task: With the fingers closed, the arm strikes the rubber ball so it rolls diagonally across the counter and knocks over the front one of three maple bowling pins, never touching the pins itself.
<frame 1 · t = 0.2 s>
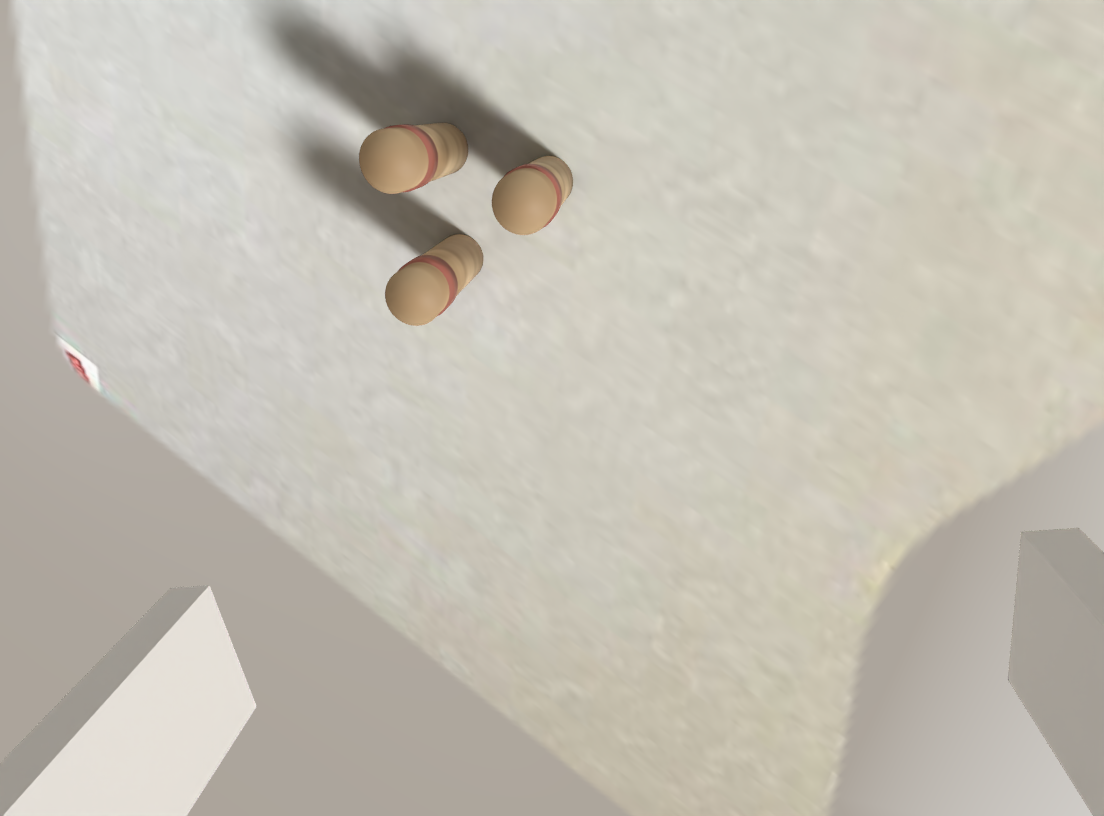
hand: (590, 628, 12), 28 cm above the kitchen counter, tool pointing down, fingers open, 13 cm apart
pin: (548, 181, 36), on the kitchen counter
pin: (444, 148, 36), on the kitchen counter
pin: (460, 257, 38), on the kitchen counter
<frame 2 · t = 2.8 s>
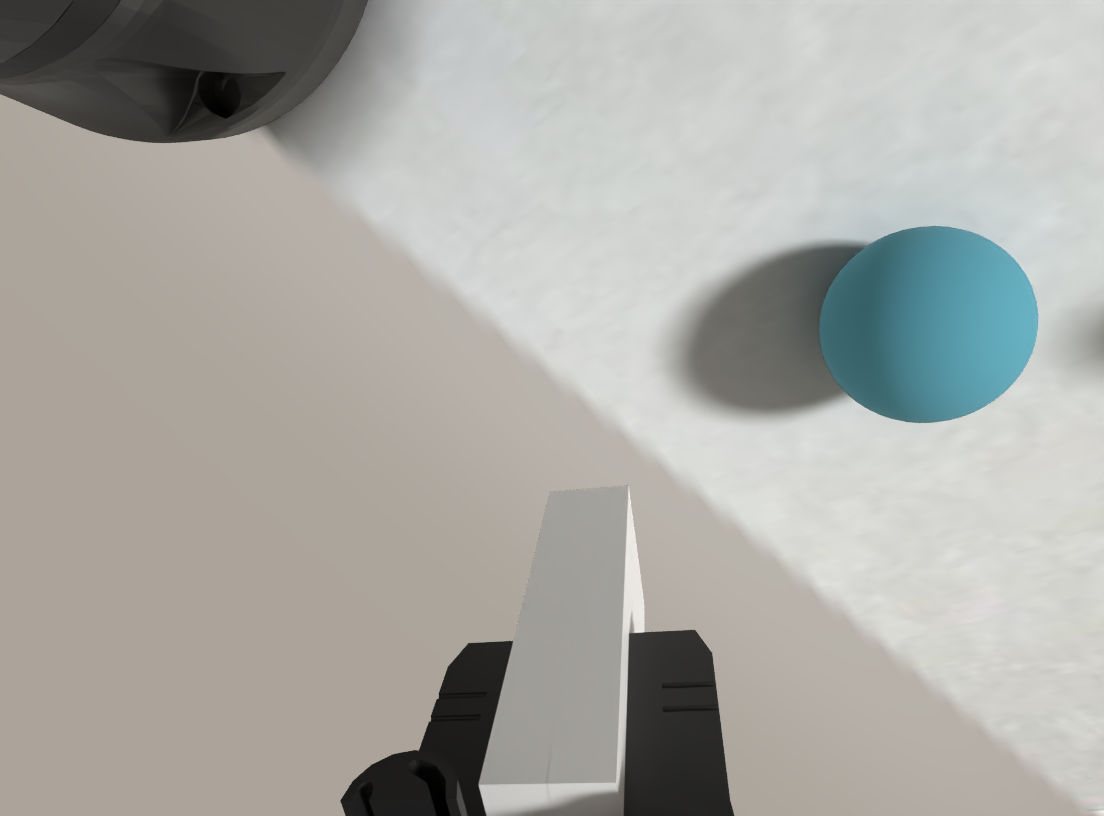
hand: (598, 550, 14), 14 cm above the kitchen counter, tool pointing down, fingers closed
ball: (922, 325, 23), on the kitchen counter
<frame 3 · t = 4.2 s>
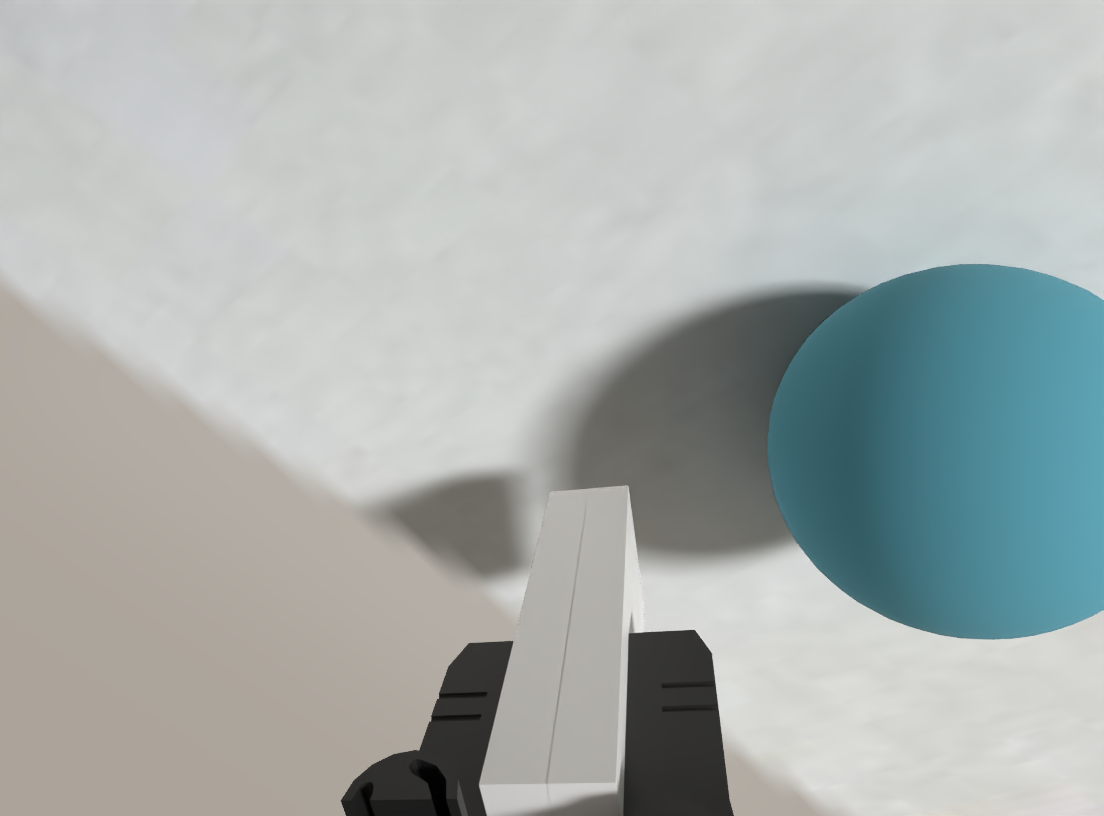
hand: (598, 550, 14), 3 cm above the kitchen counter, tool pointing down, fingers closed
ball: (956, 449, 12), on the kitchen counter
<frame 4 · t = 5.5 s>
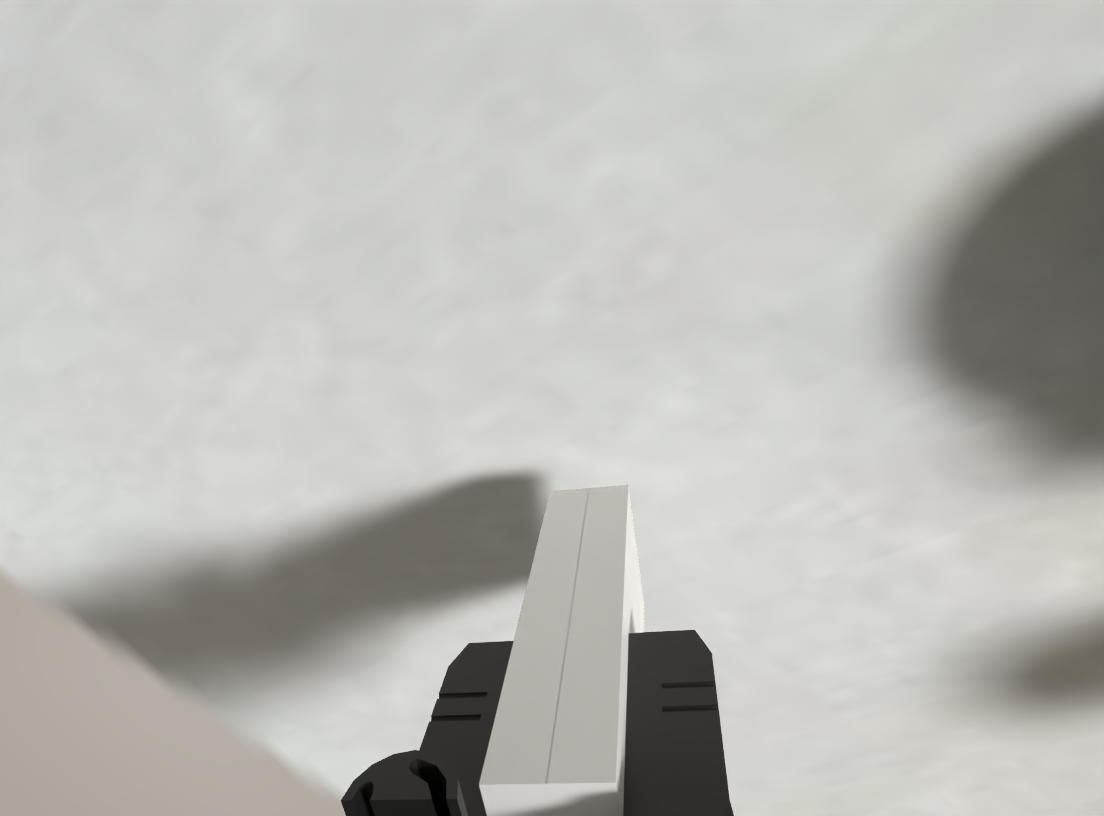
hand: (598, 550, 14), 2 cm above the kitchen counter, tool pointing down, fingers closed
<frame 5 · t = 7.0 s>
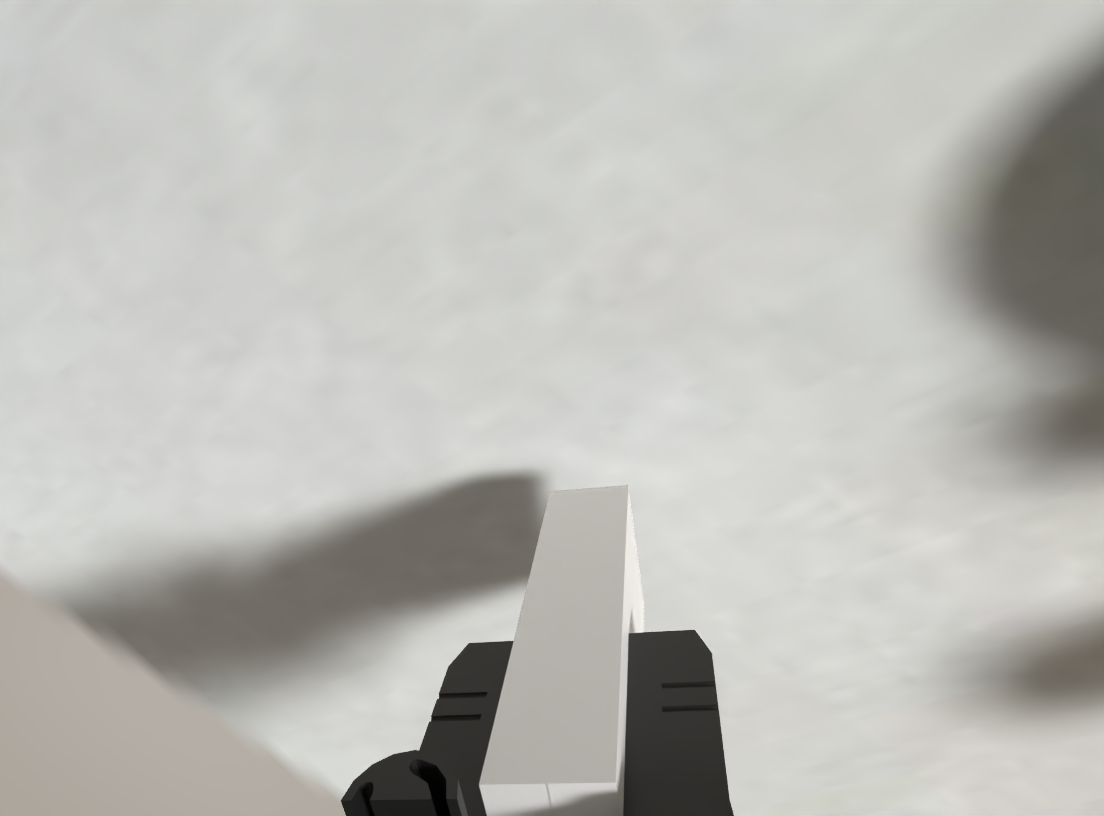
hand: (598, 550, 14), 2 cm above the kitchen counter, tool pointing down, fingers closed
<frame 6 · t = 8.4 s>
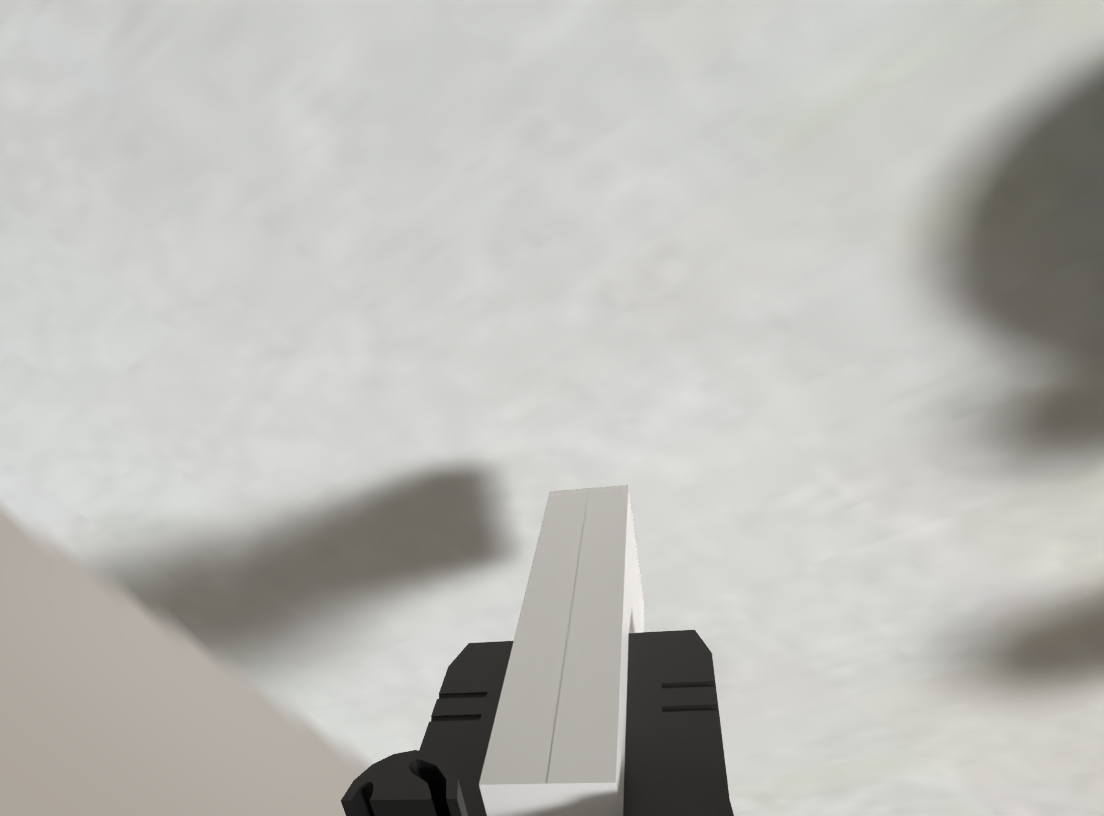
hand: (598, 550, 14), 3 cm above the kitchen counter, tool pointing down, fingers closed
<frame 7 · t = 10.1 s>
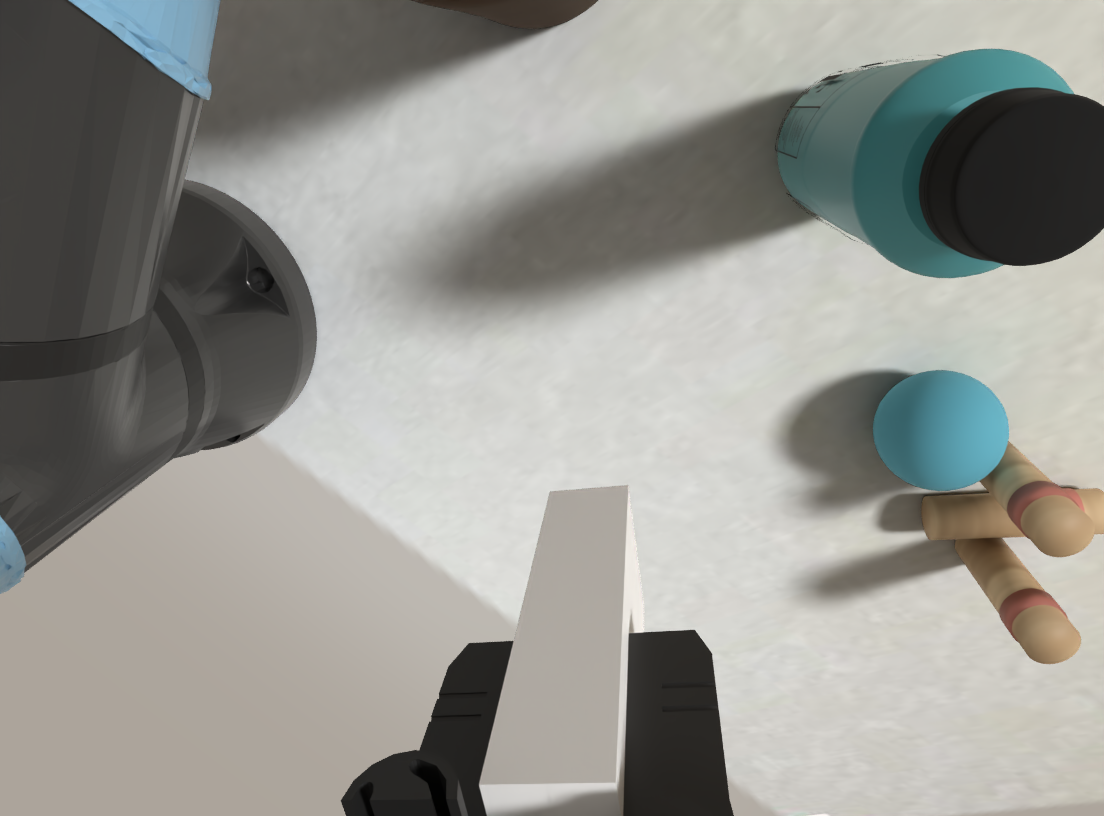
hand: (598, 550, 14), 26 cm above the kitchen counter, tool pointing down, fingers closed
beverage bottle: (836, 142, 35), on the kitchen counter
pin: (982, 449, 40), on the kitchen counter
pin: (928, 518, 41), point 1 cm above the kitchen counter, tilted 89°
ball: (938, 430, 37), on the kitchen counter
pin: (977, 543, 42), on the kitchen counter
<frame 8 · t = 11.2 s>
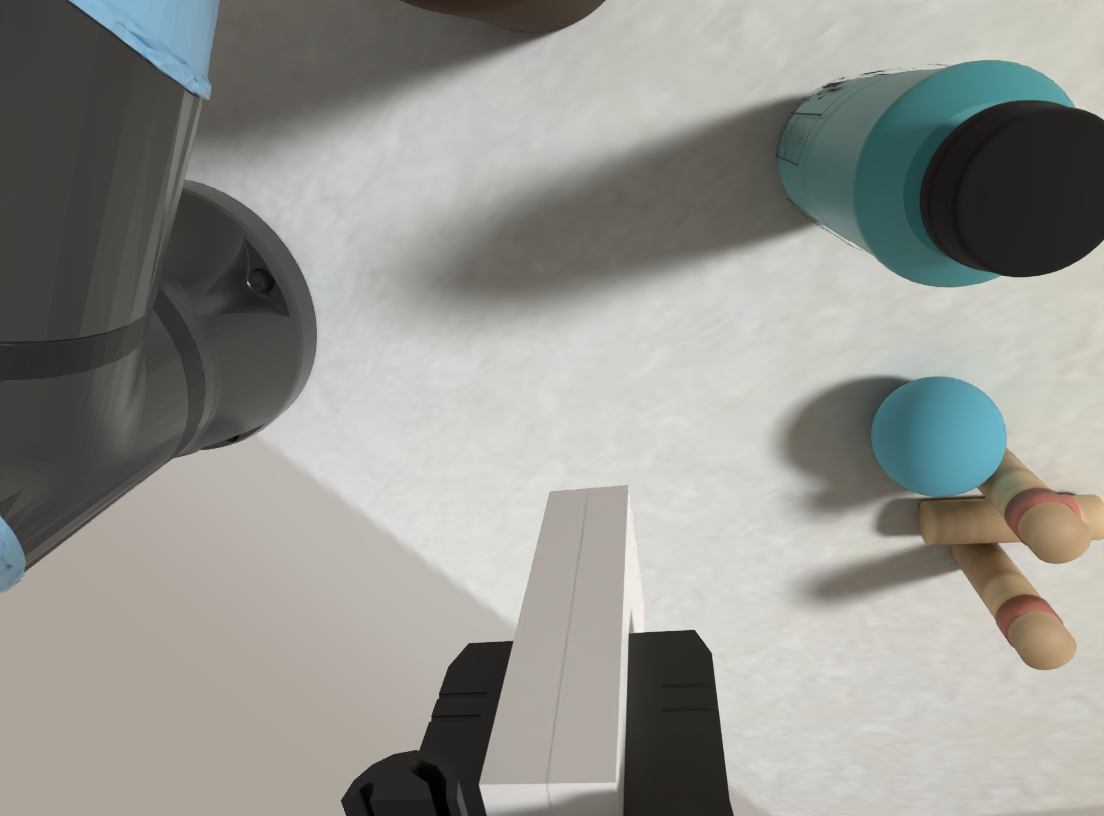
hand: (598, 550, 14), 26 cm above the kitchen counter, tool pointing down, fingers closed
beverage bottle: (836, 148, 35), on the kitchen counter
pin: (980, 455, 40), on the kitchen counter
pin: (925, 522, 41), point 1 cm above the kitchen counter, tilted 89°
ball: (936, 436, 37), on the kitchen counter
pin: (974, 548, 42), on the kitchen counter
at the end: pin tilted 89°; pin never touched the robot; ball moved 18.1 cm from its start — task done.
